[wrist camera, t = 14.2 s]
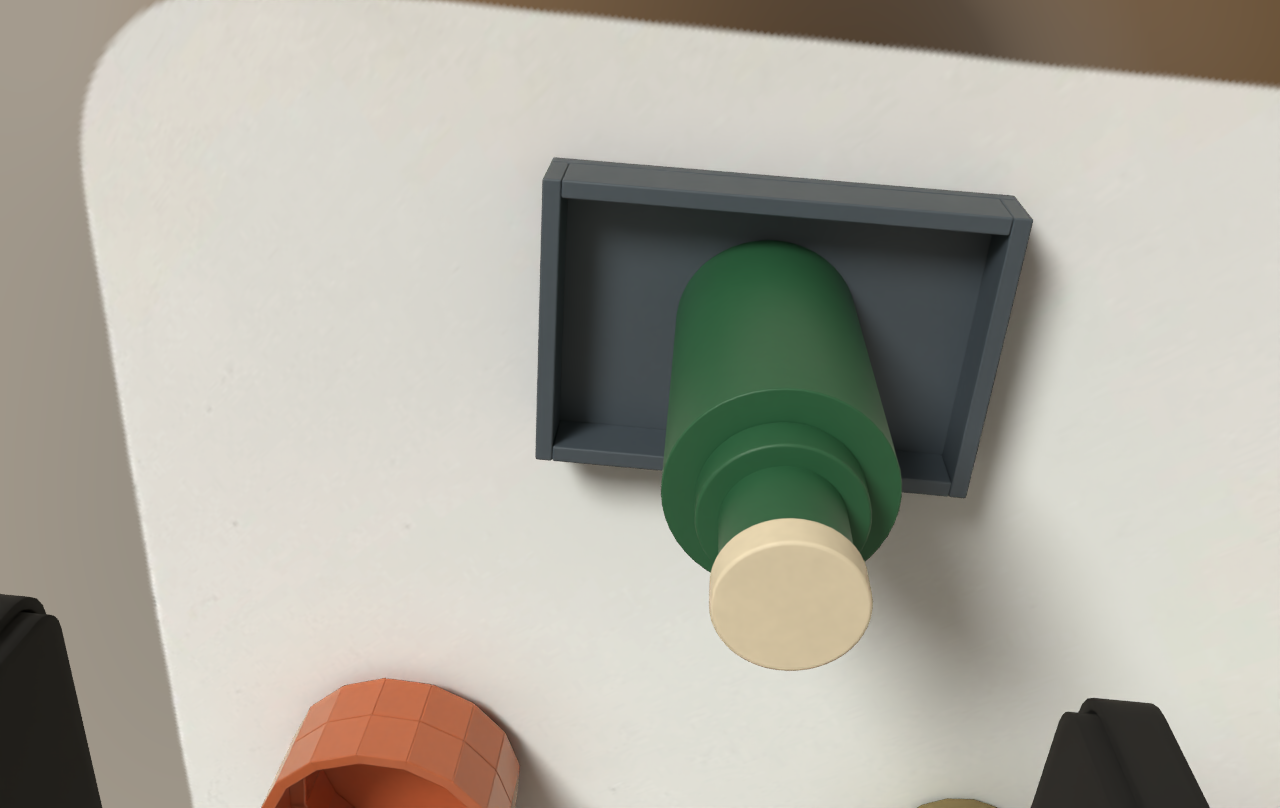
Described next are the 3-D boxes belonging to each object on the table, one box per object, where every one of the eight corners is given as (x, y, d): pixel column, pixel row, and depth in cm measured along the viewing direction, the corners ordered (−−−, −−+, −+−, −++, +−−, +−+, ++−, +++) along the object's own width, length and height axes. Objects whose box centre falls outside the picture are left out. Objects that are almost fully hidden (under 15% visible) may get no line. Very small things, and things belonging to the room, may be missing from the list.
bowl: (254, 734, 50) (209, 823, 45) (414, 633, 46) (381, 718, 42) (407, 862, 53) (378, 957, 49) (566, 776, 50) (551, 869, 45)
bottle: (640, 307, 38) (594, 583, 24) (788, 203, 36) (830, 439, 22) (744, 434, 40) (757, 753, 26) (890, 341, 38) (986, 636, 24)
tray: (545, 425, 41) (535, 459, 39) (553, 156, 37) (542, 178, 34) (953, 462, 41) (966, 499, 39) (1014, 195, 36) (1033, 219, 34)
